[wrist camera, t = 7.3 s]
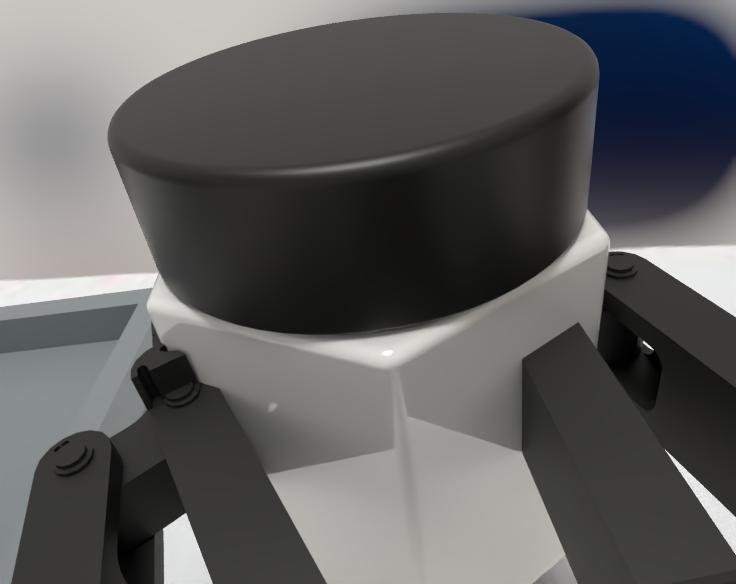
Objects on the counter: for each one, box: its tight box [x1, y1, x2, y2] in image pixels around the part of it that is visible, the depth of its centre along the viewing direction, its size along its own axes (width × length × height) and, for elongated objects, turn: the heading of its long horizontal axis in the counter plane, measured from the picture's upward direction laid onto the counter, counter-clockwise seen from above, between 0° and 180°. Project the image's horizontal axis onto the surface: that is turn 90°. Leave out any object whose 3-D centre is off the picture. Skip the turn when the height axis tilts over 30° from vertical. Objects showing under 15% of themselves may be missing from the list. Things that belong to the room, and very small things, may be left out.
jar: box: [108, 13, 610, 584], centre depth 14 cm, size 9×8×12 cm
